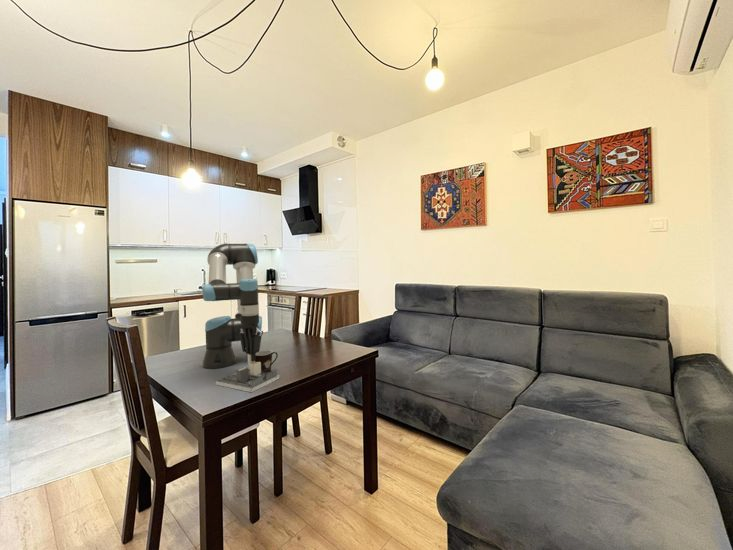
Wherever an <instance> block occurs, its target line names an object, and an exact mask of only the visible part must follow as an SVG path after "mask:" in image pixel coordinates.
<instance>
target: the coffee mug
mask: <svg viewBox="0 0 733 550" xmlns="http://www.w3.org/2000/svg"><path fill="white" fill-rule="evenodd" d="M274 354H275V355H276V356H275V359H274V360H273V355H274ZM278 356H279V355H278V352H276V351H273V350H269V349H263V350H261V349H260V350H259V352H257V353H256V361H255V362H261V371H264V372H271V371H272V365H273V364H274V363H275V362H276V361H277V359H278Z"/></svg>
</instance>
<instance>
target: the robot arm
mask: <svg viewBox="0 0 733 550" xmlns="http://www.w3.org/2000/svg"><path fill="white" fill-rule="evenodd" d="M206 262H207V265H208V266H209V268H208V283H207V284H204V285H203V286H202V299H203V301H205V302H222V301H236V300H237V312H236V314H235V315H234V318H232V317H231V316H230V315H224V316H218V317H213V318H210V319H208V320H207V321H206V322H205V325H204V326H205V328H204V332H205V353H204V356H203V360H202V368H205V369H221V368H226V367H230V366H232V365H234V364H236V363H237V358H236V355H235V351H234V349H233V347H232V342H233V343H234V342H240V345H241V349H242V352H243V353H245V354H246V361H247V368H248V369H250V364H251V363H254V362H255V361H256V353H257V352H259V351H261V343H262V336H263V335H264V331H263V330H262V328H263V325H262V324H263V317H262V315H260V313H259V312H260V309H259V283H258V279H257V278H254V269H255V268H256V265H257V264H258V263H259V259H258V251H257V249H256V246H255V244H253V243H221V244H219V245H217V246H214V247H213V248H212V249H211V251H210V252H209V253H208V255H207V261H206ZM227 265H232V268H233V269H234V271H235V274H236V275H235V276H236V277H235V278H236V282H235V283H234V282H233V283H227V269H226V268H227V267H226V266H227Z"/></svg>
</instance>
